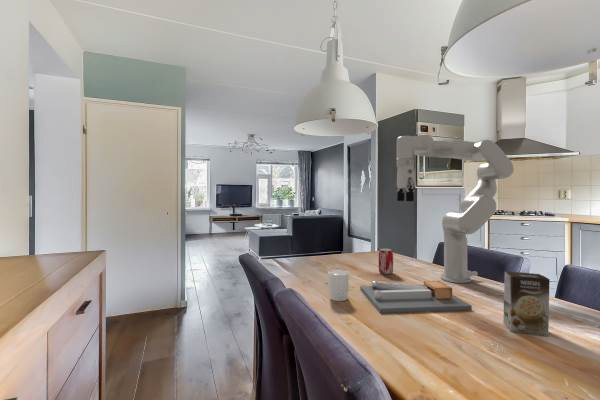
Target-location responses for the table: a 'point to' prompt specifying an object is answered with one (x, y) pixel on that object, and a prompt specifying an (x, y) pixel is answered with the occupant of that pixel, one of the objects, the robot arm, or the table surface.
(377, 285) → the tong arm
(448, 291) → the tray
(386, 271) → the soda can
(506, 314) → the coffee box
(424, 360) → the table surface
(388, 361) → the table surface
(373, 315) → the table surface
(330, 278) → the white cup
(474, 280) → the table surface
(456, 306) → the board
